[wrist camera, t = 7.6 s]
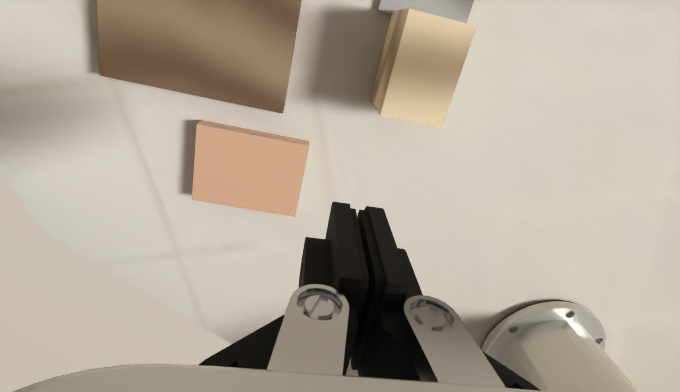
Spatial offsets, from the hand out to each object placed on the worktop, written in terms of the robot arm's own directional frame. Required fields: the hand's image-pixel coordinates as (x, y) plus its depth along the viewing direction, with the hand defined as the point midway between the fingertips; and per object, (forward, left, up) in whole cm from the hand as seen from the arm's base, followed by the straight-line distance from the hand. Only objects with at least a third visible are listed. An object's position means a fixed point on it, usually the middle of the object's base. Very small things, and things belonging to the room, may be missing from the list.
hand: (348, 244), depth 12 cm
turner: (+8, -4, -17) cm, 20 cm away
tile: (-5, +1, -17) cm, 17 cm away
